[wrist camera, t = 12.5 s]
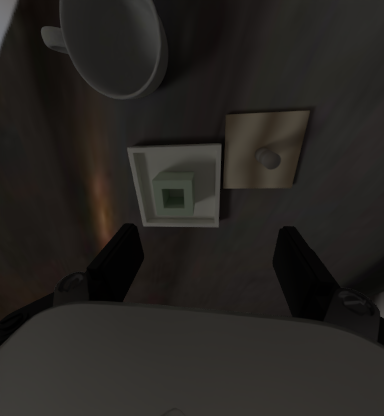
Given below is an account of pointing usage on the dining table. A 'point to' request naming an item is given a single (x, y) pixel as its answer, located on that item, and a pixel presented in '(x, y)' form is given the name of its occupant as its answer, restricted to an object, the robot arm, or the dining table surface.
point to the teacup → (113, 44)
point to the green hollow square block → (174, 204)
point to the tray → (204, 189)
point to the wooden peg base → (263, 149)
